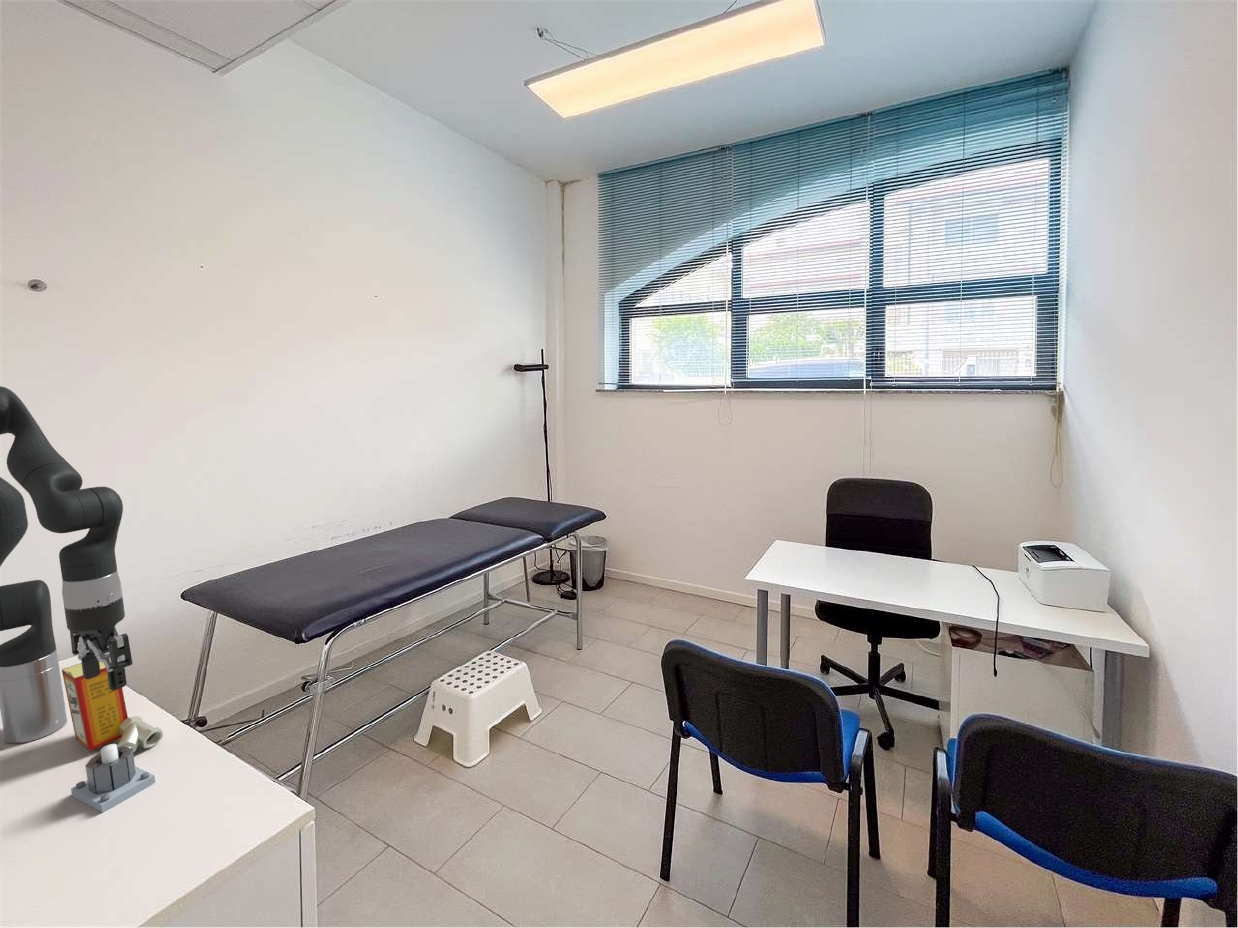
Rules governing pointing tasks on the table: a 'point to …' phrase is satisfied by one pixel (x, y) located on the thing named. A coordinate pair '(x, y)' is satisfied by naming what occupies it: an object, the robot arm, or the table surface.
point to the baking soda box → (94, 707)
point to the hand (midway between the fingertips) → (105, 682)
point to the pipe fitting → (138, 734)
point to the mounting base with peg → (116, 796)
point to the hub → (110, 771)
